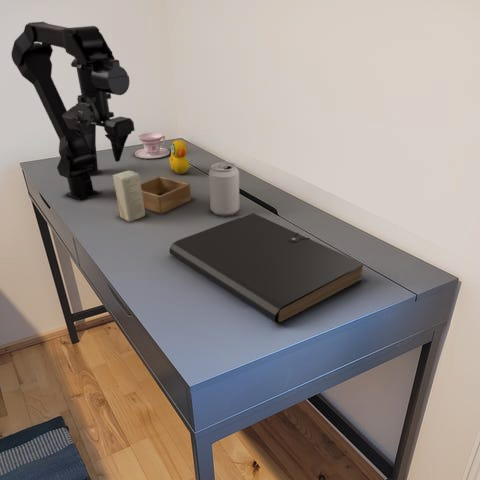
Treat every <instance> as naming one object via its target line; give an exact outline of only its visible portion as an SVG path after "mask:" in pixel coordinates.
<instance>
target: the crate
mask: <svg viewBox="0 0 480 480" xmlns="http://www.w3.org/2000/svg"><path fill="white" fill-rule="evenodd" d="M140 184H141V190H142V197H143V203H144V209H146V210H148V211H152V212H155V213H158V214H161V215H162V214H164V213H165V214H166V213H168V212H169V211H171V210H173V209H176V208H178V207H179V206H182V205H184V204H187V203H188V202H191V201H192V194H191V184H190V183H188V182H183V181H180V180H176V179H173V178H172V179H171V178H169V177H164V176H161V175H159V176H156V177H153V178H150V179H147V180H146V181H143V182H140ZM159 194H161V195H159Z"/></svg>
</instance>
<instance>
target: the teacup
mask: <svg viewBox="0 0 480 480" xmlns="http://www.w3.org/2000/svg"><path fill="white" fill-rule="evenodd" d="M137 138H138V139H139V140H140V141H141V143H142V145H143V148H141V149H138V150H136V151H135V152H134V155H135V157H137V158H141V159H160V158H164V157H167V156H169V155H170V154H171V151H170V150H169V149H168V148H166V147H163V146H164V144H165V142H166V136H165V135H164V134H163V133H160V132H145V133H141V134H139V135H137ZM162 139H163V140H162ZM161 140H162V142H161ZM160 143H161V144H160Z"/></svg>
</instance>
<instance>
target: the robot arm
mask: <svg viewBox="0 0 480 480" xmlns="http://www.w3.org/2000/svg"><path fill="white" fill-rule="evenodd" d="M23 29H24V30H23V32H21V34H19V36H18V37H17V38H16V39H15V40H14V41H13V46H12V49H11V53H10V54H11V60H12V62H13V64H14V65H15V66H16V68H17V69H18V71H19V73H20V75H21V76H22V77H23V78H24V79H25V80H27V81H28V82H29V83H31V85H33V87H34V89H35V91H36V93H37V96H38V97H39V99H40V102H41V104H42V106H43V108H44V110H45V112H46V114H47V117H48V118H49V121H50V122H51V125H52V127H53V129H54V132H55V133H56V135H57V138H58V141H59V145H58V154H59V157H60V159H59V161H58V164H57V166H56V169H57V171H58V175H59V176H61V177H64V178H66V179H67V183H68V188H69V192H67V193H65V196H66V197H69V198H72V199H75V200H77V201H82V200H85V199H87V198H91V197H93V196H95V195H98V194H99V191H98V190H95V189H94V185H93V181H92V178H91V175H90V173H89V172H92V171H95V169H96V155H95V149H96V150H97V144H96V139H97V135H96V134H97V127H101V128H103V131H104V132H105V133H106V134H104V135H105V137H106V138H107V140H109V141H110V146H111V150H112V154H113V159H114V162H116V163H117V162H118V163H119V162H120V161H121V158H122V154H123V151H124V148H125V145H126V142H127V140H128V137H129V135H131V134H132V133H133V132H135V122H134V120H133V119H132V118H131V117H125V116H116V117H115V114H114V112H113V111H110V106H109V100H110V99H112V95H116V96H122V95H125V94H126V93H127V92H128V90H129V88H130V83H131V82H130V76H129V75H128V72H127V70H126V69H125V68H124V67H122V66H121V64H120V60H119V59H115V57H114V54H113V51H112V50H111V48H110V47H109V45H108V43H107V41H106V39H105V37H104V35H103V33H102V32H100V29H99V27H97V26H96V25H88V26H87V25H86V26H85V25H84V26H75V27H67V26H62V25H56V24H52V23H48V22H45V21H35V22H34V21H31V22H28V23H26V24H25V26H24V28H23ZM52 46H54V47H58V48H62V49H64V50H65V53H67V55H70V56H72V57H73V58H74V59H73V60H72V61H71V63H70V66H71V67H72V68H76V72H77V73H76V74H77V78H78V84H79V89H80V94H79V95H77V97H76V101H77V103H76V104H77V105H76V104H75V105H73V106H72V107H70V108H69V109H68V110H67V108H66V106H65V104H64V102H63V99H62V97H61V95H60V93H59V90H58V89H57V86H56V84H55V82H54V80H53V77H52V71H53V62H52V60H51V57H52V55H53V52H54V50H53V47H52ZM77 132H78V133H79V134H80V135H79V134H78V133H77Z"/></svg>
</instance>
